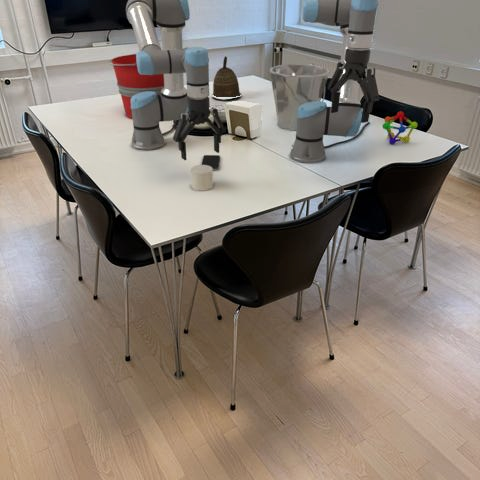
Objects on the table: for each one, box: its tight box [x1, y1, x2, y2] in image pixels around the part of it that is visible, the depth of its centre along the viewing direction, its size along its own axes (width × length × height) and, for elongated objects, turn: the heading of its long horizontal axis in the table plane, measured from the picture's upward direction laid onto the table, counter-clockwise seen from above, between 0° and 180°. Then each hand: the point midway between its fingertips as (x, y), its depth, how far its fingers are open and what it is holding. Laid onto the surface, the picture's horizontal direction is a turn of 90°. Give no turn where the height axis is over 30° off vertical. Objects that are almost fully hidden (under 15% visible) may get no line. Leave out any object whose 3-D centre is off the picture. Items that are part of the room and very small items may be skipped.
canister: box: [190, 164, 214, 192], centre depth 167 cm, size 8×8×7 cm
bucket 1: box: [107, 53, 164, 120], centre depth 242 cm, size 35×35×30 cm
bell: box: [212, 56, 242, 97], centre depth 278 cm, size 19×26×20 cm
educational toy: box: [382, 110, 418, 145], centre depth 207 cm, size 16×13×15 cm
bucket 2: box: [269, 63, 330, 131], centre depth 226 cm, size 30×30×28 cm
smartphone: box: [201, 154, 221, 171], centre depth 188 cm, size 7×1×15 cm
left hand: (200, 155), depth 163 cm, fingers open, 13 cm apart
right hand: (348, 117), depth 148 cm, fingers open, 13 cm apart
